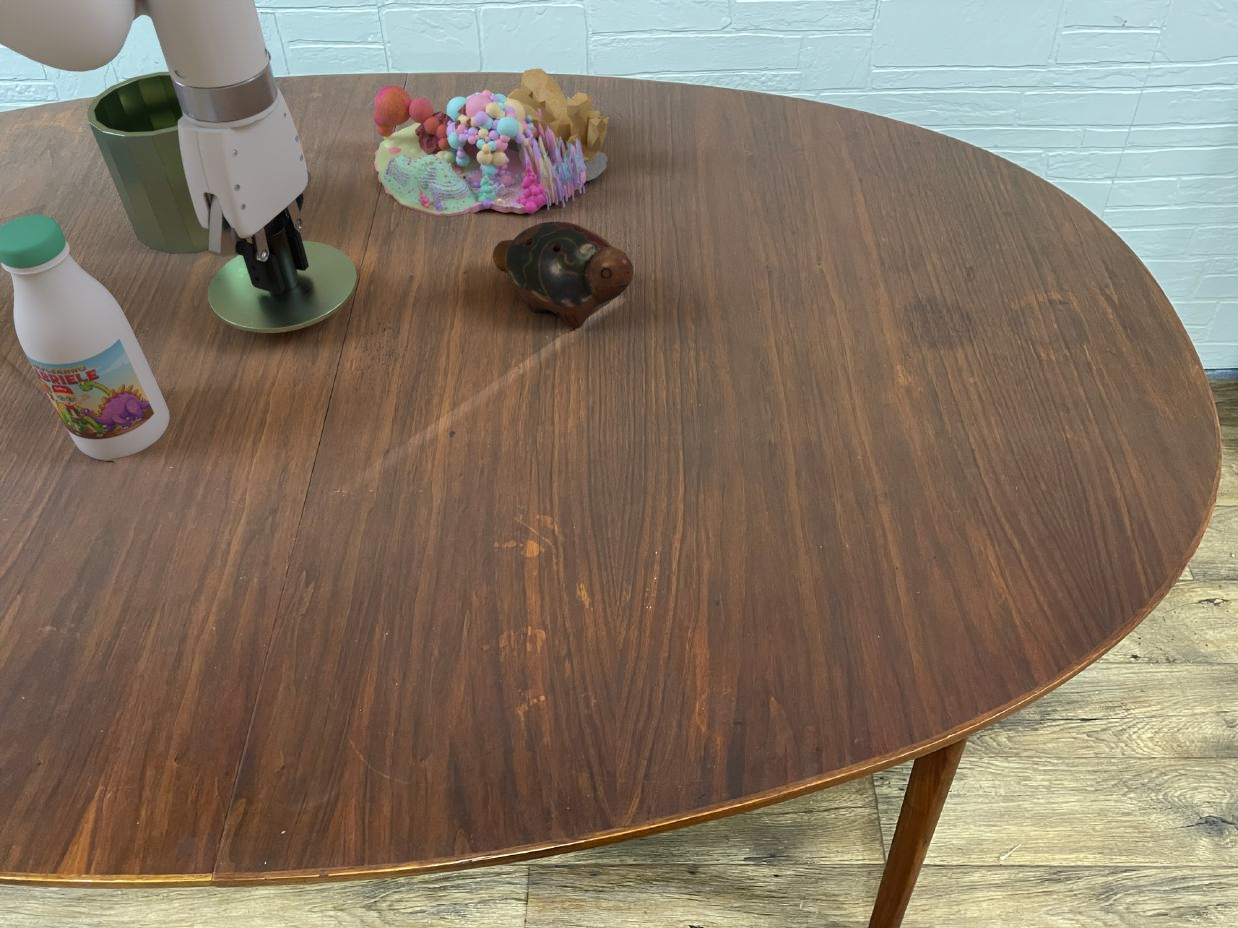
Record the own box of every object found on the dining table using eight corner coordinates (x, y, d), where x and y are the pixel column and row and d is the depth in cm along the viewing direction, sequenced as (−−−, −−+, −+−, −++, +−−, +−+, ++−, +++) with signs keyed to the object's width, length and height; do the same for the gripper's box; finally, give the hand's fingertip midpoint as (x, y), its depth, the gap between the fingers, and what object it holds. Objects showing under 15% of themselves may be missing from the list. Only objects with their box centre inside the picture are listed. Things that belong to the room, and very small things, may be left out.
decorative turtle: (615, 355, 94) (606, 284, 88) (475, 317, 99) (457, 248, 93) (662, 290, 99) (656, 220, 93) (526, 258, 105) (512, 189, 99)
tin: (178, 273, 103) (129, 150, 93) (114, 225, 109) (62, 105, 99) (283, 219, 109) (248, 99, 99) (217, 177, 115) (178, 59, 105)
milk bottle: (91, 401, 90) (-14, 202, 76) (181, 396, 91) (93, 197, 76) (65, 466, 85) (-53, 266, 71) (160, 461, 86) (62, 260, 71)
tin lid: (266, 359, 90) (244, 293, 85) (182, 294, 97) (158, 229, 91) (387, 289, 97) (374, 224, 92) (302, 233, 103) (286, 169, 98)
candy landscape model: (531, 91, 127) (526, 16, 120) (646, 175, 114) (647, 96, 107) (344, 156, 118) (326, 78, 111) (446, 256, 104) (433, 175, 98)
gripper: (250, 37, 88) (298, 221, 102) (117, 127, 78) (190, 319, 91) (325, 53, 86) (364, 239, 100) (198, 147, 76) (261, 341, 90)
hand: (280, 276), depth 96 cm, fingers closed on tin lid, 3 cm apart
